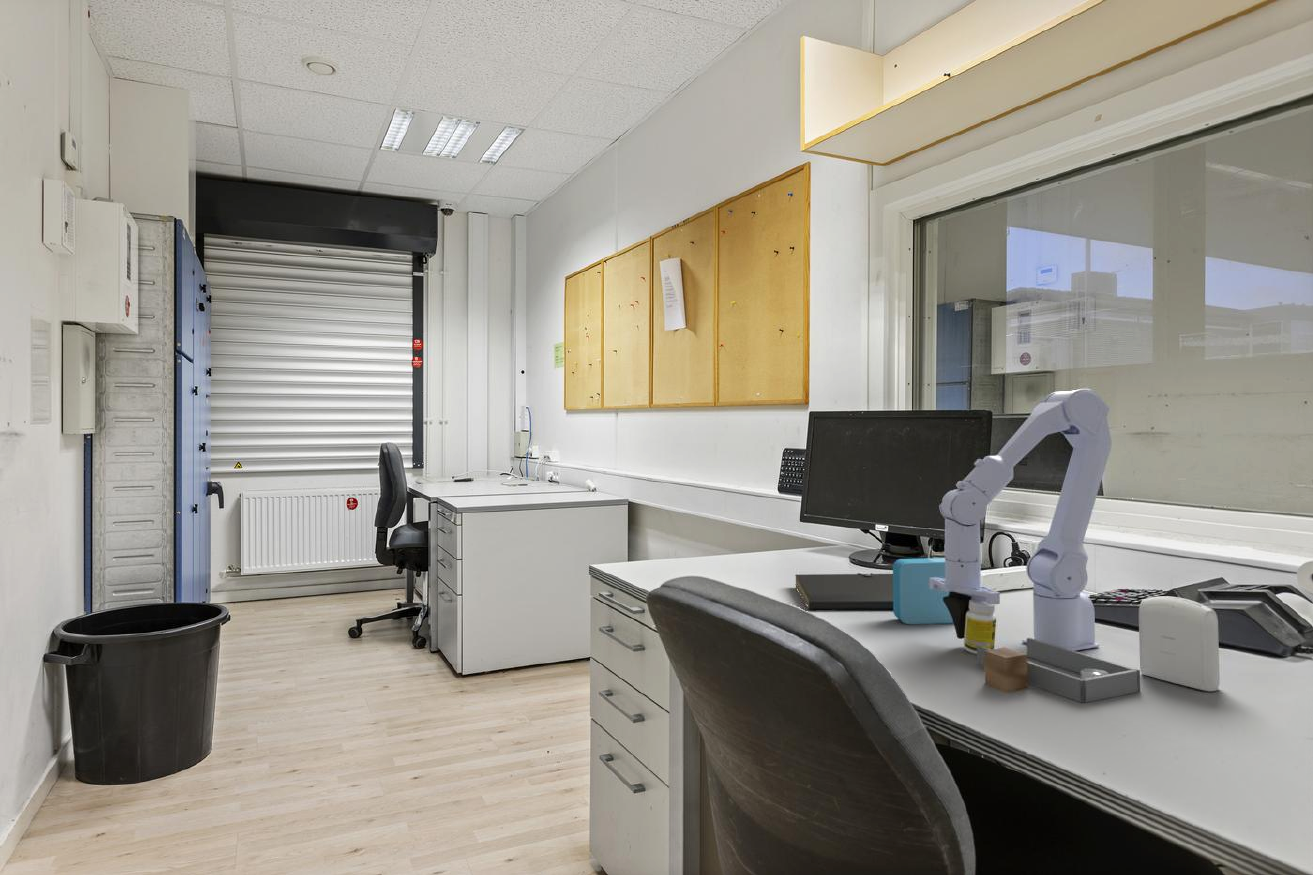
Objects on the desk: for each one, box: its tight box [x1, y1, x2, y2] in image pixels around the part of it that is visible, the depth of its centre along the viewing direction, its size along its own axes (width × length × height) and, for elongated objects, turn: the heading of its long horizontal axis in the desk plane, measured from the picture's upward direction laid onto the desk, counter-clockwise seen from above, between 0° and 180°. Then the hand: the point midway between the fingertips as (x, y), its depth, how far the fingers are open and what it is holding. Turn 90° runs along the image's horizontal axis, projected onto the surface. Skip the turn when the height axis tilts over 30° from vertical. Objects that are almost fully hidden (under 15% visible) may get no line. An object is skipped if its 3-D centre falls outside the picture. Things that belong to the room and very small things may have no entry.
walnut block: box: [984, 647, 1028, 693], centre depth 113 cm, size 4×4×5 cm
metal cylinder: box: [1080, 669, 1109, 679], centre depth 110 cm, size 4×4×3 cm
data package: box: [892, 557, 954, 625], centre depth 152 cm, size 12×4×12 cm, turn 91°
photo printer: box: [1138, 595, 1221, 692], centre depth 114 cm, size 10×4×12 cm, turn 26°
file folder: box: [795, 572, 893, 612], centre depth 173 cm, size 33×4×24 cm
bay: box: [976, 637, 1141, 704], centre depth 117 cm, size 11×19×3 cm, turn 22°
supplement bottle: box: [963, 599, 997, 655], centre depth 130 cm, size 5×5×8 cm
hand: (963, 637), depth 134 cm, fingers closed
